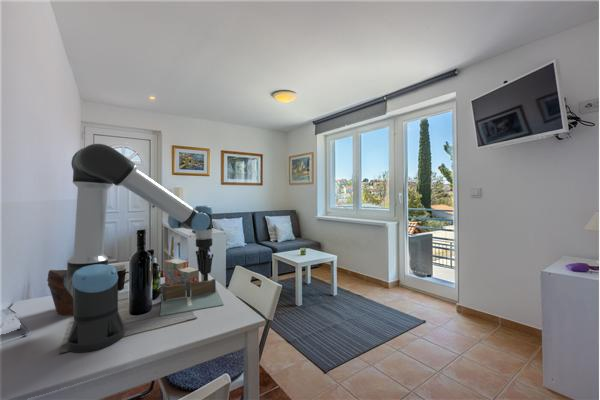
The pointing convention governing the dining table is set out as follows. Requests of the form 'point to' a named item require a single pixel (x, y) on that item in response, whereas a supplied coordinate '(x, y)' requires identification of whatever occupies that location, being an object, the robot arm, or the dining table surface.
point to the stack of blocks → (179, 272)
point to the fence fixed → (176, 291)
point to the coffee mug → (121, 277)
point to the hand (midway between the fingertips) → (204, 286)
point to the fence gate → (203, 287)
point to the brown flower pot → (60, 292)
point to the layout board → (190, 303)
